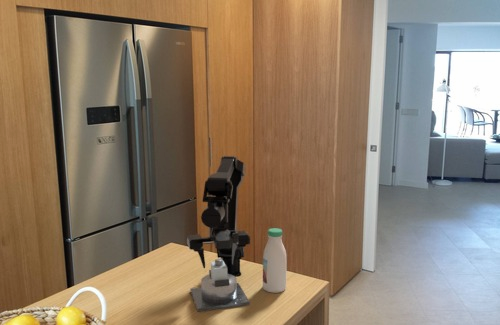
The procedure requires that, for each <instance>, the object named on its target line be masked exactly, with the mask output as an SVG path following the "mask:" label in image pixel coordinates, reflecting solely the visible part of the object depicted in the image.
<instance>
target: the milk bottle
mask: <svg viewBox="0 0 500 325" xmlns="http://www.w3.org/2000/svg"><path fill="white" fill-rule="evenodd" d="M267 237H268V240H267V243H266V245H265V248H264V250H263V253H262V254H263V255H262V289H263V290H264V291H265V292H268V293H271V294H273V293H274V294H277V293H282V292H284V291H286V288H287V264H288V263H287V251H286V248H285V246H284V244H283V241H282V237H283V230H282V229H281V228H277V227H276V228H274V227H271V228H270V229H268V230H267Z"/></svg>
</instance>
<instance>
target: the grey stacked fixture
mask: <svg viewBox="0 0 500 325" xmlns="http://www.w3.org/2000/svg"><path fill="white" fill-rule="evenodd" d="M200 281H201V283H200V284H201V286H199V287H191V288H190V294H191V297H192V300H193V302H194V306H195V308H196V312H200V313H201V312H205V311H212V310H213V311H216V310H222V309H228V308H229V309H230V308H236V307H243V306H250V304H251V301H250V300H249V298H248V296H247V295H246V294H245V291H244V290H243V288H242V286H241V285H240V283H239V282H238V280H237V277H236V276H233V275H231V274H227V279H226V280H217V281H214V282H215V284H214V282H213V280H212V278H211V269H209V270H208V274H207V275H204V276H203V277H202V278H201V280H200Z"/></svg>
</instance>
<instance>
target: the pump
mask: <svg viewBox="0 0 500 325" xmlns="http://www.w3.org/2000/svg"><path fill="white" fill-rule="evenodd" d="M210 270H211V278H212V280H213V282H214V281H217V280H226V279H227V266H226V265H225V263H224V261H223V260H222V259H221V258H216V259H215V260H214V261H210ZM214 284H215V282H214Z"/></svg>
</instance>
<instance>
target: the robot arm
mask: <svg viewBox="0 0 500 325" xmlns="http://www.w3.org/2000/svg"><path fill="white" fill-rule="evenodd" d="M245 176H246V166H245V163H244V162H243V161H241V160H239V159H238V158H237V157H236V156H234V155H229V156H228V155H223V156H221V158H220V162H219V166H218V168H217V170H216V172H215V173H213V174H210V175H209V176H208V177H207V179H206V180H205V182H204V188H203V194H202V202H203V203H207V207H205V209H204V210H203V211H202V213H201V215H200V218H201V222H202V224H203V225H204V226H206V227H207V228H208V229H209V230H208V235H209V236H208V237H202V235H201V234H189V235H188V236H187V237H186V244H187V246H188V249H189V250H191V251H192V250H193V252H197V253H198V256H199V260H200V263H201V264H202V267H203V269H205V268H206V262H205V261H206V260H205V250H204V247H203V246H204V245H208V244H214V247H215V249H216V253H217V254H216V255H217V256H216V257H217V259H222V260H223V261H224V263H225V265H226V266H227V274H231V275H233V276H235V277H236V276H241V275H242V272H241V260H242V258H244V257H245V250H244V248H246V246H247V245H250V244H251V236H250V235H249V234H248V232H247V231H246V230H238V229H237V222H238V200H239V188H240V187H241V185H242V183H243V182H244V177H245Z"/></svg>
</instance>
